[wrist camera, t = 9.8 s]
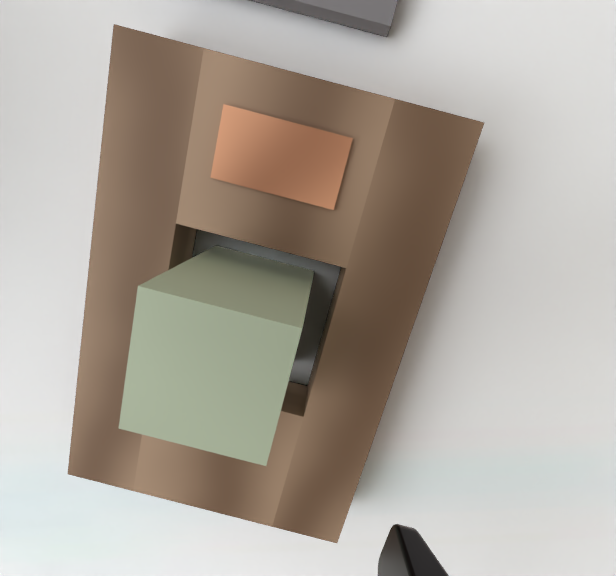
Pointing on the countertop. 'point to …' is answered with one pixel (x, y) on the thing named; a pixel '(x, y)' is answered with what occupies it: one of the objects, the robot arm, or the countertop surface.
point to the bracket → (344, 12)
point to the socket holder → (272, 234)
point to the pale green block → (215, 352)
